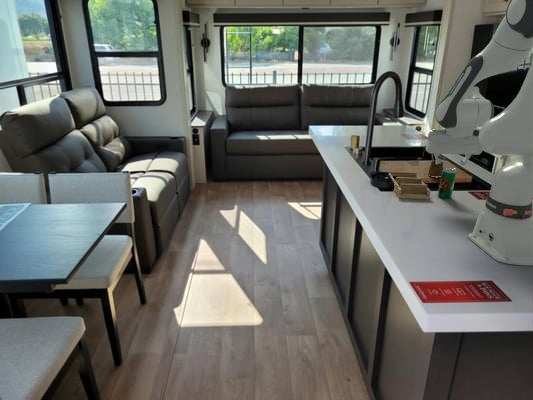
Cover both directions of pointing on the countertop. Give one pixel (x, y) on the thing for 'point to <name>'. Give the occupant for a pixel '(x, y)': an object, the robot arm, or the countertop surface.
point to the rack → (409, 185)
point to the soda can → (447, 182)
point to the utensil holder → (435, 168)
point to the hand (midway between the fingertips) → (450, 164)
